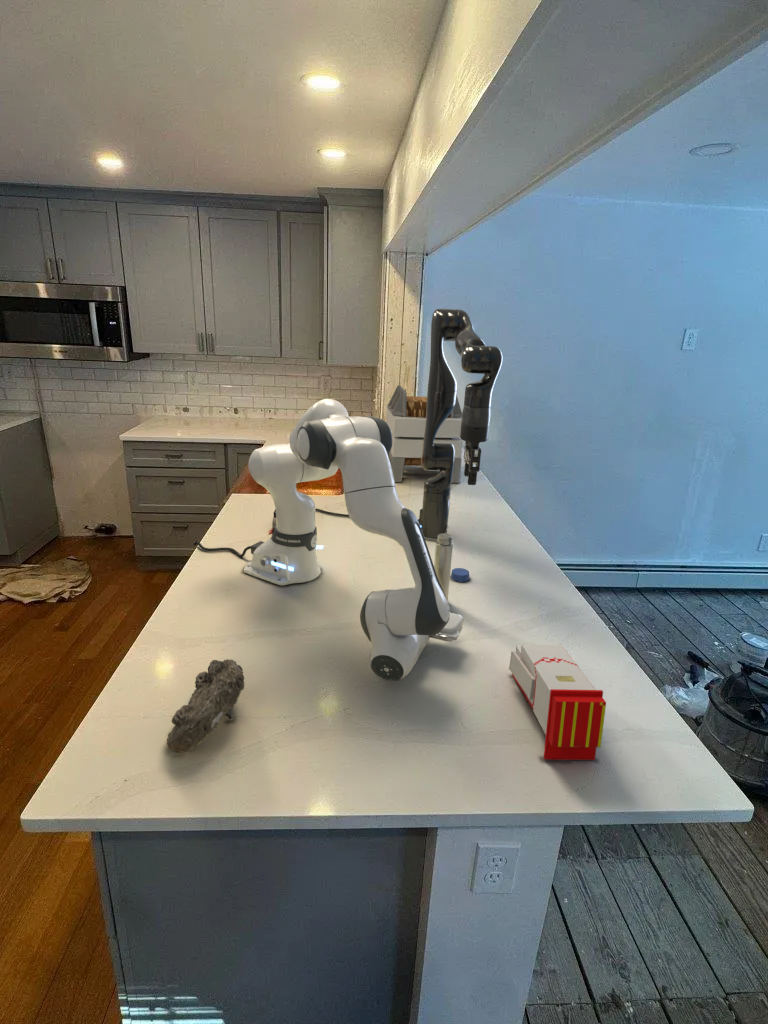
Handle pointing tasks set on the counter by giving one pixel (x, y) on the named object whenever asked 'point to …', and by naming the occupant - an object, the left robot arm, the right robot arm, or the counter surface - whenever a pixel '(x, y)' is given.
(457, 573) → the lid
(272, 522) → the figurine character
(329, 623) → the counter surface
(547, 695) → the toy
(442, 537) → the metal cylinder
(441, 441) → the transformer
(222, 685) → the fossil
